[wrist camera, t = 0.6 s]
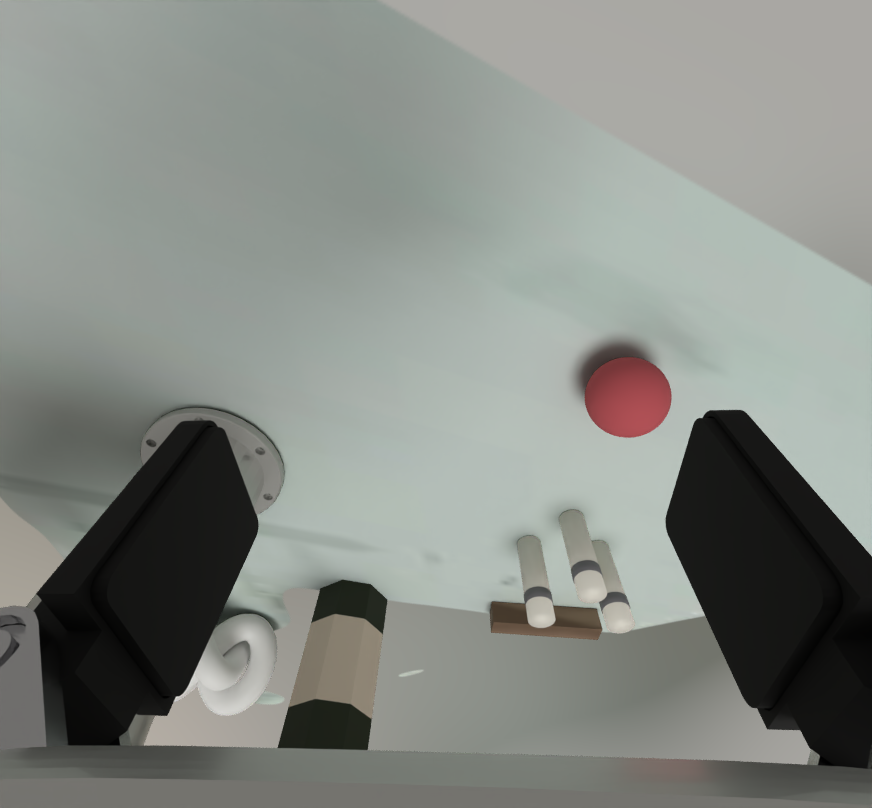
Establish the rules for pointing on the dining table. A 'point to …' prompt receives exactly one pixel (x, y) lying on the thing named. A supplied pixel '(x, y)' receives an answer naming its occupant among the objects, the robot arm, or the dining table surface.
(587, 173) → the dining table surface
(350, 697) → the wine bottle
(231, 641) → the white knot
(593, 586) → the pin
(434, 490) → the dining table surface
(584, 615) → the back wall
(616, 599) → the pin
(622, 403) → the ball
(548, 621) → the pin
